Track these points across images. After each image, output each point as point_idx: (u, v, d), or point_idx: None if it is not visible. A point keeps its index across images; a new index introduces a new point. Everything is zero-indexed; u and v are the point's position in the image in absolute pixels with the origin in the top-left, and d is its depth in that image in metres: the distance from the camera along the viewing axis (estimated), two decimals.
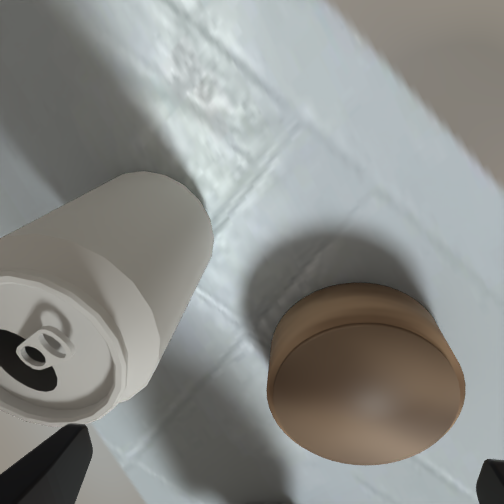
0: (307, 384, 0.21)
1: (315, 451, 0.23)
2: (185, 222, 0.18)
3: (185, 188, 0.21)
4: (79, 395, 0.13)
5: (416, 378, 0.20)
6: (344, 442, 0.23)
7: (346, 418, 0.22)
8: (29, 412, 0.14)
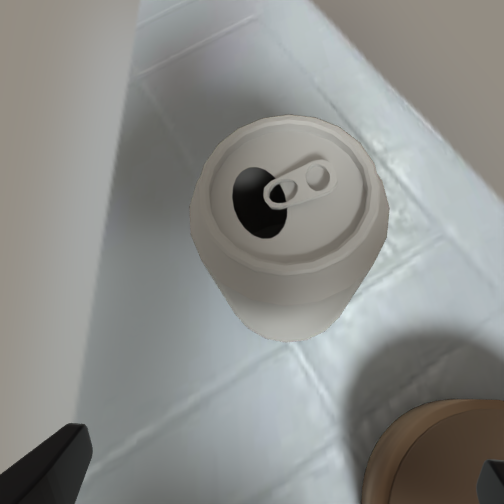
0: (443, 486, 0.16)
1: None
2: None
3: None
4: (296, 250, 0.13)
5: None
6: None
7: None
8: (236, 248, 0.12)
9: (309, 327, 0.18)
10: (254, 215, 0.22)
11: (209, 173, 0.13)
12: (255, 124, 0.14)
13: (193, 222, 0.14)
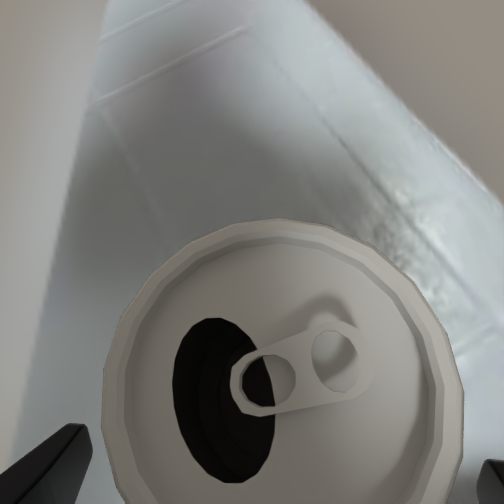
0: None
1: None
2: None
3: None
4: None
5: None
6: None
7: None
8: None
9: None
10: None
11: (128, 339, 0.07)
12: (219, 237, 0.08)
13: None
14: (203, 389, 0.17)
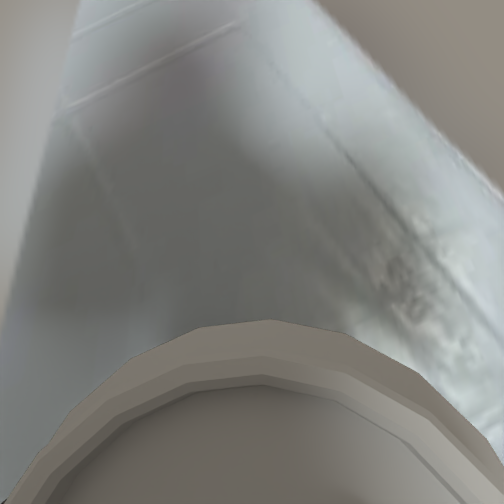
0: None
1: None
2: None
3: None
4: None
5: None
6: None
7: None
8: None
9: None
10: None
11: None
12: (158, 386, 0.04)
13: None
14: None
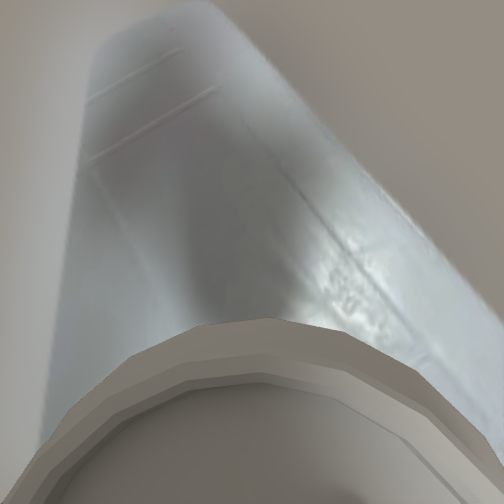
0: None
1: None
2: None
3: None
4: None
5: None
6: None
7: None
8: None
9: None
10: None
11: None
12: (157, 384, 0.04)
13: None
14: None
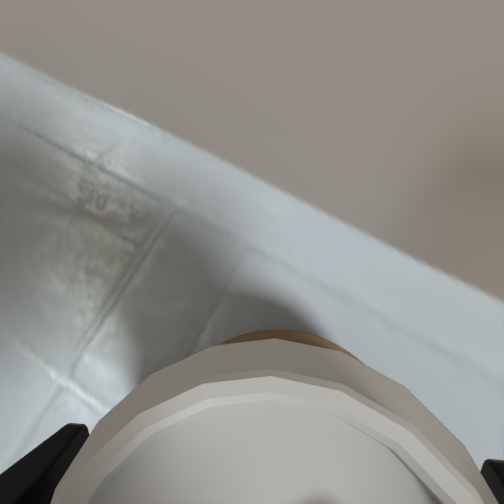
0: None
1: None
2: None
3: None
4: None
5: None
6: None
7: None
8: None
9: None
10: None
11: None
12: (182, 402, 0.05)
13: None
14: None
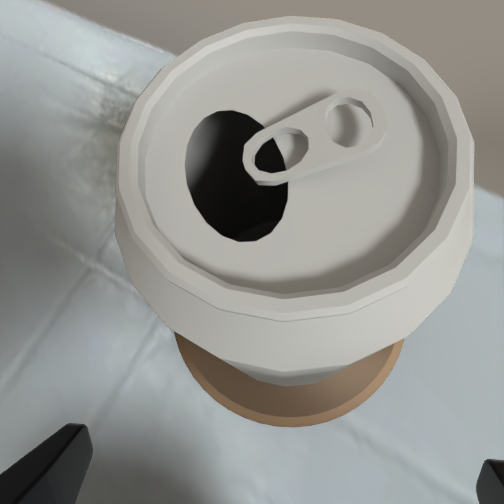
0: None
1: (248, 403, 0.16)
2: None
3: None
4: (307, 265, 0.06)
5: None
6: None
7: None
8: (185, 262, 0.06)
9: (322, 378, 0.11)
10: (241, 207, 0.16)
11: (140, 118, 0.07)
12: (229, 33, 0.08)
13: (119, 212, 0.08)
14: None
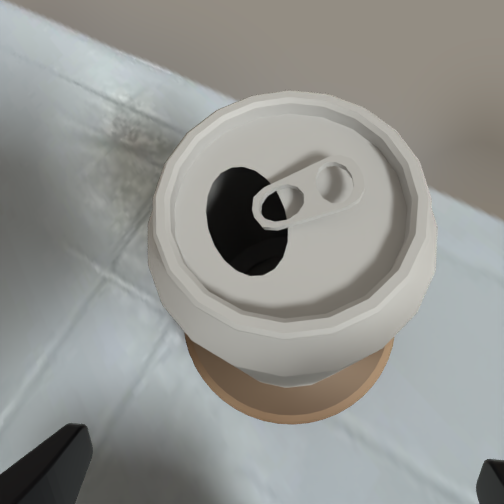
0: None
1: (252, 403, 0.18)
2: None
3: None
4: (302, 295, 0.08)
5: None
6: None
7: None
8: (209, 293, 0.08)
9: (317, 381, 0.13)
10: (246, 227, 0.18)
11: (171, 176, 0.09)
12: (241, 104, 0.10)
13: (151, 248, 0.10)
14: None
